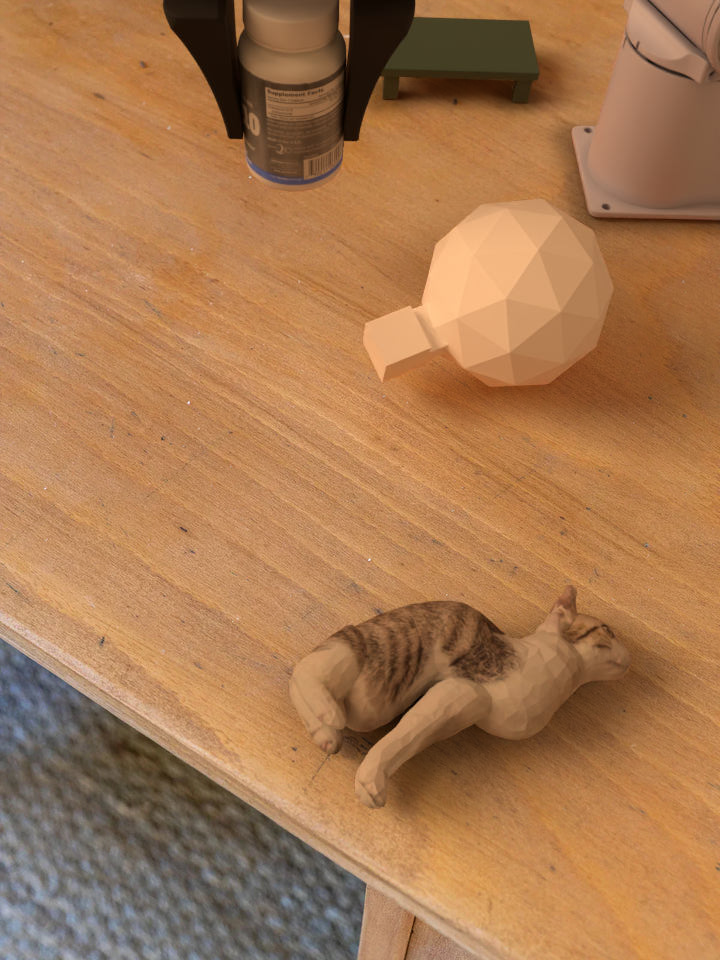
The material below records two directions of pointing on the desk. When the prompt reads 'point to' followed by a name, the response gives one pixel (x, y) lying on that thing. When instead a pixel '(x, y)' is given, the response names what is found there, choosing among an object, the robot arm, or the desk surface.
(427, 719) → the figurine
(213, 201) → the desk surface
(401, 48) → the green footed tray
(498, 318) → the perfume bottle
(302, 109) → the pill bottle
